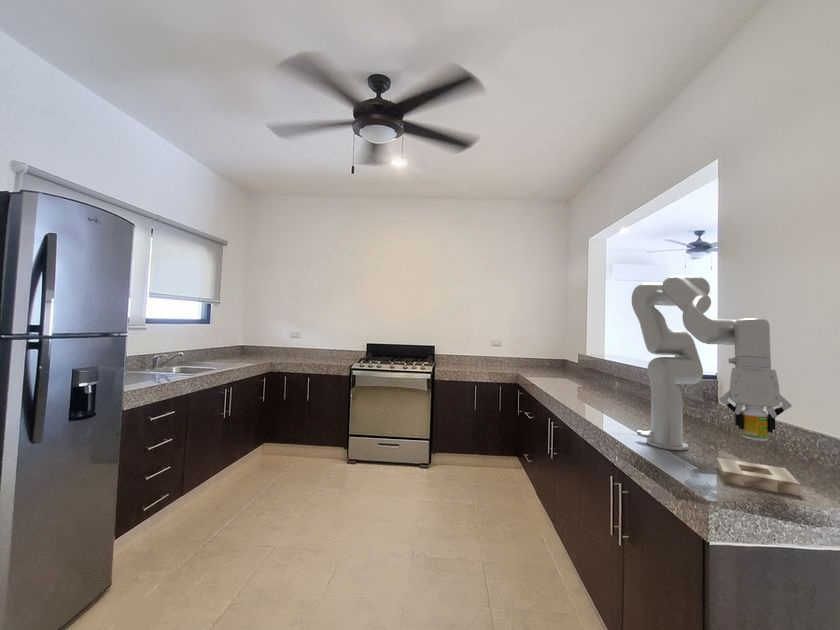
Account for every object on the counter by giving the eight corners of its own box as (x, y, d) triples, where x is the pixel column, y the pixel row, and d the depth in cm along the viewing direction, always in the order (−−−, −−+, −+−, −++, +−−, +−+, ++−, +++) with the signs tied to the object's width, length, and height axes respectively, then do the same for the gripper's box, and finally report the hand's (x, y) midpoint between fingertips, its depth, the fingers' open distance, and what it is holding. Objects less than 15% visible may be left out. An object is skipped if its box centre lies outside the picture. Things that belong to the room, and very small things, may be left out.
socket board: (723, 482, 103) (723, 471, 103) (717, 468, 115) (717, 457, 115) (800, 496, 95) (800, 483, 95) (785, 479, 107) (785, 468, 107)
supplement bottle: (761, 441, 102) (760, 404, 102) (738, 437, 107) (736, 401, 107) (772, 440, 104) (771, 403, 105) (749, 435, 109) (748, 400, 110)
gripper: (715, 362, 108) (717, 428, 107) (799, 365, 99) (802, 437, 98) (712, 361, 115) (714, 423, 113) (791, 364, 105) (793, 432, 104)
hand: (754, 429), depth 106 cm, fingers closed on supplement bottle, 5 cm apart
